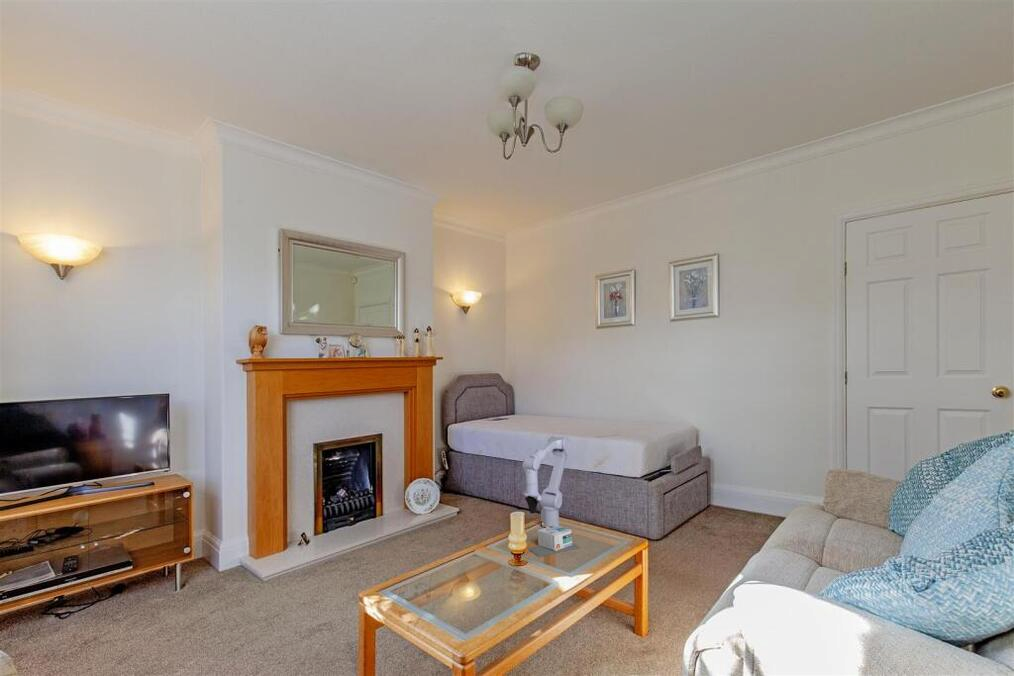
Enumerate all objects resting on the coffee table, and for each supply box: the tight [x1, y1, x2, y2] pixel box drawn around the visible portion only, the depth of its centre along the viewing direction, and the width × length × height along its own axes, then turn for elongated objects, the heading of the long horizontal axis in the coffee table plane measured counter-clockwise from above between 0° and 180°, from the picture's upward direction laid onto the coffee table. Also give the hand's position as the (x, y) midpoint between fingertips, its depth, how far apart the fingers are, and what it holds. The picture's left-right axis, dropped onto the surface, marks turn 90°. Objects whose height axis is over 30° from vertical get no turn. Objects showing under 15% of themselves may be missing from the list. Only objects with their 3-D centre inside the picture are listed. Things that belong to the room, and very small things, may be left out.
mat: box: [527, 542, 581, 558], centre depth 206 cm, size 11×20×1 cm, turn 115°
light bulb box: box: [537, 525, 573, 551], centre depth 209 cm, size 11×7×11 cm
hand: (532, 512), depth 224 cm, fingers closed
